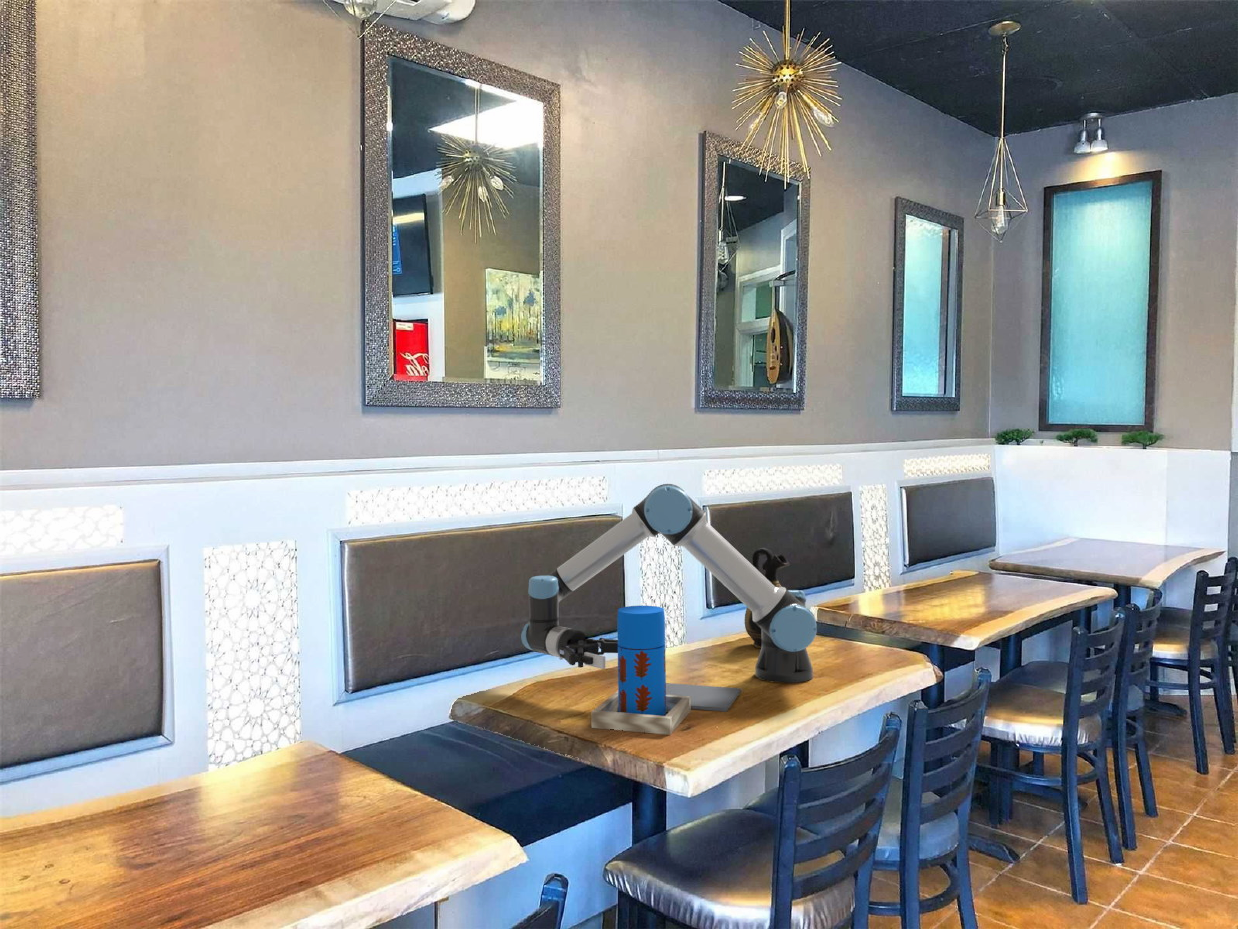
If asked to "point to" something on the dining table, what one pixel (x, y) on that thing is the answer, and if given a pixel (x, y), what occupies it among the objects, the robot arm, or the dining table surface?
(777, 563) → the ceramic jug
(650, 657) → the thermos
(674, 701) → the wooden collar
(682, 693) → the rubber mat
